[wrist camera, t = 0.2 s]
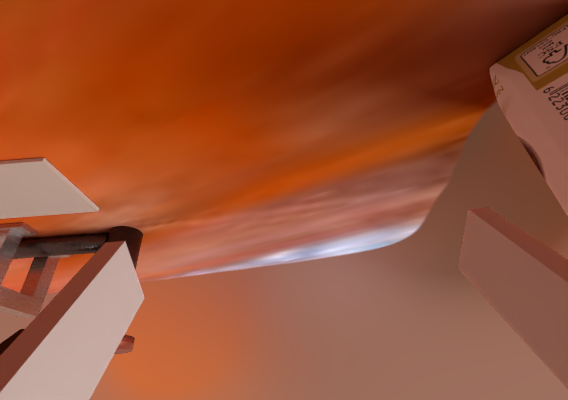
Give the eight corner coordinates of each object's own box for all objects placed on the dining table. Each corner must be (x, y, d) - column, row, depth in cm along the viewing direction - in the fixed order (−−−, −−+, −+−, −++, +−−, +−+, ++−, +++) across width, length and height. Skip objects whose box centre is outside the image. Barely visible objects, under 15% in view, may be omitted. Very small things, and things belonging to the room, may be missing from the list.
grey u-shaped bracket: (-17, 225, 38) (-57, 300, 33) (23, 222, 38) (-12, 296, 33) (39, 255, 46) (13, 319, 41) (72, 252, 46) (50, 316, 41)
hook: (-43, 232, 39) (-117, 358, 31) (140, 218, 38) (112, 343, 31) (2, 254, 45) (-50, 364, 37) (162, 242, 44) (143, 352, 37)
